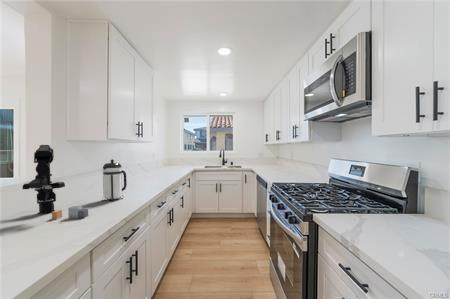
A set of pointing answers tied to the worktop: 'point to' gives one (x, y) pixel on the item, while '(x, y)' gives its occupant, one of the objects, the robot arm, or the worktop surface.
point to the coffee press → (113, 180)
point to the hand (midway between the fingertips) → (44, 201)
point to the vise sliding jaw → (56, 214)
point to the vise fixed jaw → (82, 213)
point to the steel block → (73, 211)
